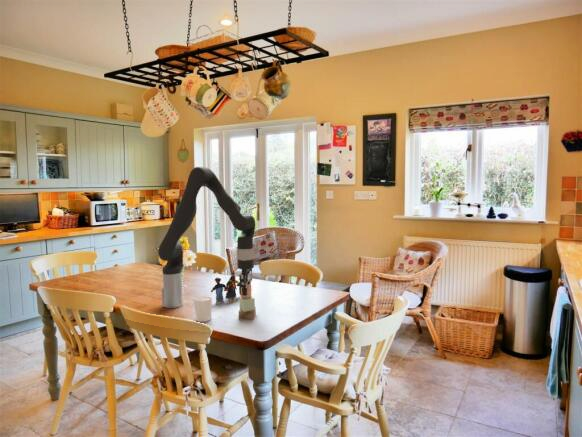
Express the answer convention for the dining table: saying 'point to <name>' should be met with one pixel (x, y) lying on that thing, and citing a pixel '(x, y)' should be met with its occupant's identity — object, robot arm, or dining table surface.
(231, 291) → the doll family
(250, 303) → the sage cube
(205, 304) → the white cup
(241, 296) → the terracotta cylinder
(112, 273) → the dining table surface
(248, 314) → the walnut base
